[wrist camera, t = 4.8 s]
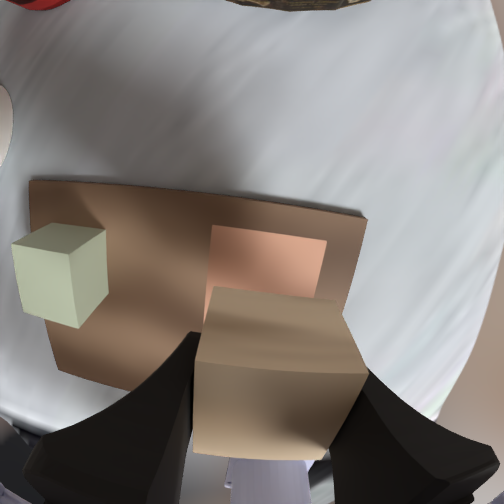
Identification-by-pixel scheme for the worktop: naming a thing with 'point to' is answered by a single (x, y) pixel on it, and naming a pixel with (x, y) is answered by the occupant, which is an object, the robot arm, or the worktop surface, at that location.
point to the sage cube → (61, 272)
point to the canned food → (38, 4)
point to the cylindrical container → (5, 123)
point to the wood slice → (299, 4)
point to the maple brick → (273, 376)
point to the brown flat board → (185, 266)
